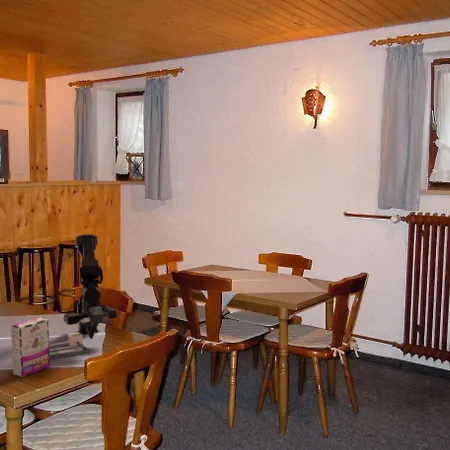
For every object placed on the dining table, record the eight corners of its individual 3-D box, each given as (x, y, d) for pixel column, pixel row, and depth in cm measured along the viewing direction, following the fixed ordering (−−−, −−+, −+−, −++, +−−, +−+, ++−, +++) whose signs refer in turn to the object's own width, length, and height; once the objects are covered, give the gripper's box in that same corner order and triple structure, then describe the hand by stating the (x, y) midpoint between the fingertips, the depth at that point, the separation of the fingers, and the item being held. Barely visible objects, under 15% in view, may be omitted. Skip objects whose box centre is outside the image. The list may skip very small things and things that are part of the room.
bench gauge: (76, 342, 205) (76, 329, 204) (88, 352, 194) (88, 338, 194) (24, 351, 195) (24, 337, 194) (33, 362, 184) (33, 347, 183)
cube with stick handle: (79, 342, 201) (79, 332, 200) (85, 348, 194) (85, 337, 194) (68, 344, 199) (68, 334, 198) (74, 350, 192) (74, 339, 192)
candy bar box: (40, 364, 182) (39, 316, 181) (50, 367, 180) (49, 319, 178) (11, 374, 173) (10, 324, 171) (21, 378, 170) (20, 327, 168)
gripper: (72, 305, 188) (73, 349, 189) (122, 298, 198) (123, 340, 200) (62, 298, 197) (63, 340, 199) (111, 292, 207) (111, 332, 209)
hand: (91, 338), depth 201 cm, fingers closed
